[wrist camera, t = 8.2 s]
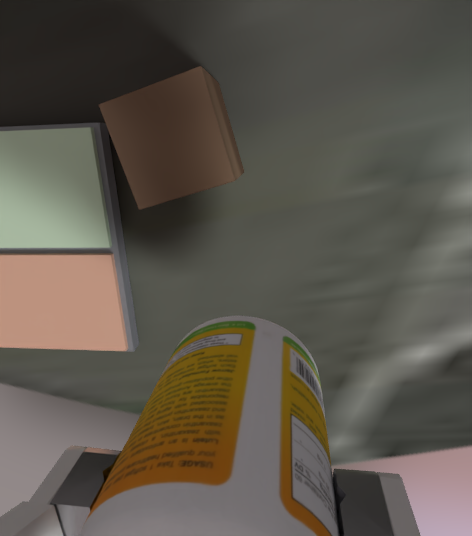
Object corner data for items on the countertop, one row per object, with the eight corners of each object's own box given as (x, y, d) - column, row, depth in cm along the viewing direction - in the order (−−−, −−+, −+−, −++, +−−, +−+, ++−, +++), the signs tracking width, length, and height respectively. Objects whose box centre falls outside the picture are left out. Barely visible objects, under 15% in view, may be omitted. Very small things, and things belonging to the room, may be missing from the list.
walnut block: (218, 83, 16) (200, 65, 12) (244, 171, 17) (234, 180, 13) (138, 112, 17) (98, 104, 13) (168, 195, 18) (139, 210, 14)
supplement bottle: (155, 402, 14) (-81, 882, 5) (197, 287, 12) (-73, 749, 3) (283, 453, 14) (273, 1021, 5) (346, 346, 12) (516, 982, 3)
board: (107, 123, 17) (96, 122, 16) (139, 343, 21) (131, 354, 20) (-100, 132, 18) (-122, 132, 17) (-32, 338, 22) (-47, 348, 21)
